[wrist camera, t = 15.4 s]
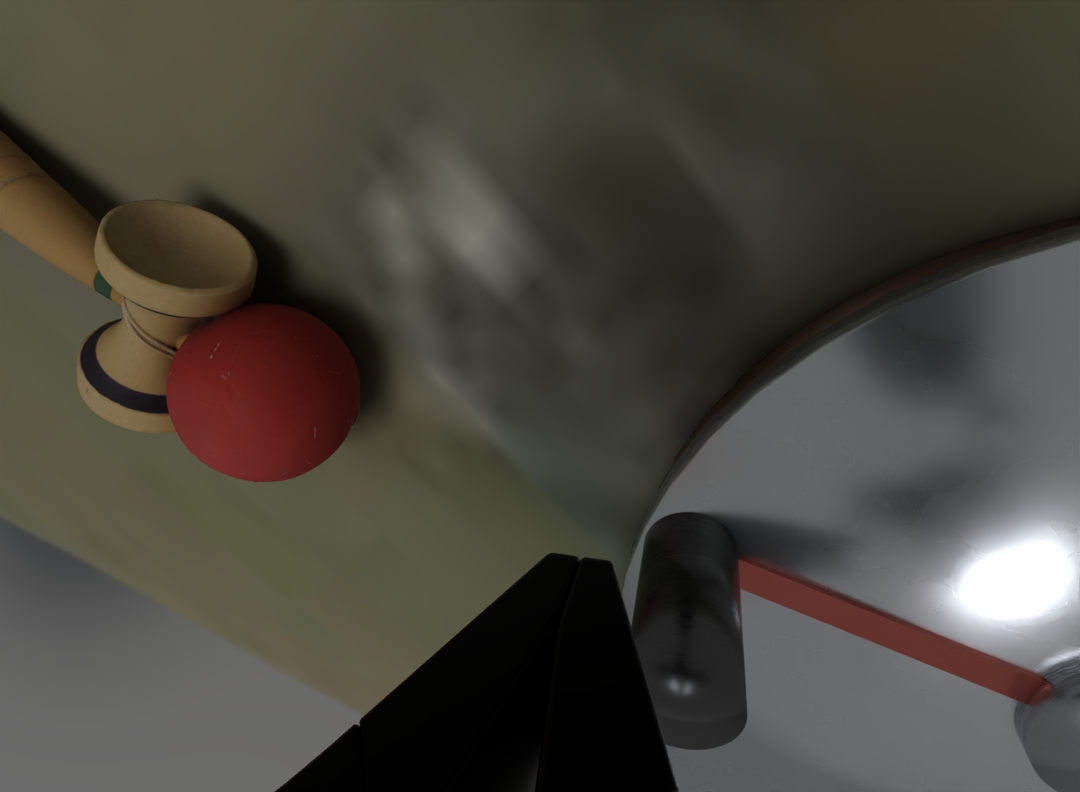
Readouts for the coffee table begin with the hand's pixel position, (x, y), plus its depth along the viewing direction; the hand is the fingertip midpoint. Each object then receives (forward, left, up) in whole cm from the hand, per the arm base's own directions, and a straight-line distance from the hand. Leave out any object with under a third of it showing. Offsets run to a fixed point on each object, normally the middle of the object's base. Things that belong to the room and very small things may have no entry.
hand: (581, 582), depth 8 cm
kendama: (0, -18, -13) cm, 22 cm away
